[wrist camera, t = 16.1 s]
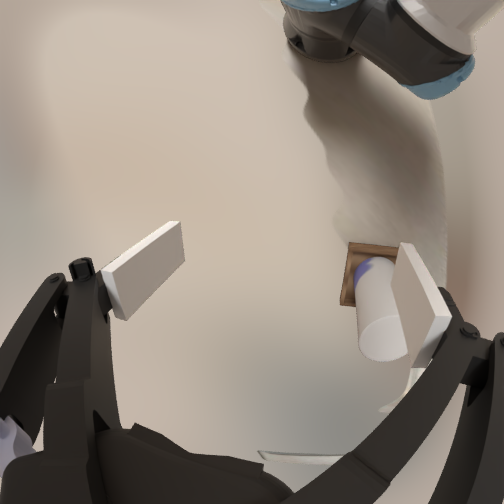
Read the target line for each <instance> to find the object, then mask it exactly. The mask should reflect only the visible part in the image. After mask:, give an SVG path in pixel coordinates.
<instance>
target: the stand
mask: <svg viewBox="0 0 504 504" xmlns="http://www.w3.org/2000/svg"><path fill="white" fill-rule="evenodd" d="M398 250H399V248H396V247H388V246H379V245H370V244H361V243H352V242H349V247H348V255H347V261H346V267H345V273H344V279H343V285H342V290H341V295H340V305H342V306H352V307H356V300H355V290H354V280H353V278H354V273H355V270H356V269H357V267H358V266H359V265H360V264H361V263H362V262H363V261H365V260H366V259H368V258H371V257H384V258H387V259H389V260H390V261H392V262H393V263H394V265H395V264H396V259H397V255H398Z"/></svg>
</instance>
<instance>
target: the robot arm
mask: <svg viewBox="0 0 504 504" xmlns="http://www.w3.org/2000/svg"><path fill="white" fill-rule="evenodd" d="M281 3H282V5H283V7H284V9H285V11H286V13H285V16H284V21H283V27H284V32H285V35H286V37H287V39H288V41H289V42H290V44H291V45H292V46H293V48H294V49H295V50H297V51H298V52H299V53H300V54H302V55H304V56H305V57H307V58H310V59H312V60H316V61H320V62H339V61H343V60H346V59H348V58H350V57H352V56H353V55H355V54H356V53H357V52H358V53H359V54H361V55H362V56H364V57H365V58H367V59H368V60H370V61H371V62H372V63H374V64H375V65H377V66H378V67H379V68H381V69H382V70H383V71H385V72H386V73H387V74H389V75H390V76H391V77H393V78H394V79H395V80H396V81H397V82H398V83H399V84H400V85H402V86H403V87H406V88H407V89H409V90H410V91H411V92H413V93H414V94H415V95H416V96H418V97H420V98H422V99H426V100H433V99H437V98H440V97H442V96H445V95H446V94H448V93H450V92H452V91H453V90H455V89H456V88H457V87H458V86H459V85H460V82H462V81H464V80H466V79H467V78H468V76H469V75H470V74H471V72H472V70H473V69H474V66H475V58H474V56H473V53H474V52H475V51H476V40H475V33H476V32H477V31H478V30H480V29H481V27H483V26H484V25H485V24H486V23H488V22H489V21H490V20H491V19H492V18H493V17H494V16H496V15H497V14H498V13H499V12H500V11H501V10H502V9H504V0H281ZM184 261H185V257H184V249H183V241H182V232H181V223H180V222H178V221H169V222H168V223H166V224H165V225H163V226H162V227H160V228H159V229H157V230H156V231H154V232H153V233H152V234H150V235H149V236H147V237H146V238H144V239H143V240H142V241H140V242H139V243H137V244H136V245H134V246H133V247H131V248H130V249H129V250H127V251H126V252H124V253H123V254H122V255H120V256H118V257H117V258H116V259H114V260H113V261H112V262H110V263H109V264H108V265H106V266H105V267H103V268H102V269H101V270H99V271H98V272H97V273H95V270H94V266H93V263H92V259H91V258H87V257H84V258H80V259H77V260H75V261H73V262H72V263H70V264H69V270H70V273H71V276H72V279H73V281H72V282H66V279H65V276H64V274H63V273H54V274H52V275H50V276H49V277H47V278H46V279H45V281H44V282H43V283H42V285H41V286H40V287H39V289H38V290H37V291H36V293H35V294H34V296H33V297H32V298H31V300H30V301H29V303H28V304H27V306H26V307H25V309H24V310H23V312H22V313H21V315H20V316H19V318H18V319H17V321H16V323H15V324H14V326H13V327H12V329H11V331H10V332H9V334H8V336H7V337H6V339H5V341H4V342H3V344H2V346H1V348H0V477H1V478H2V484H1V492H0V504H373V503H374V502H375V501H376V500H377V499H378V498H379V497H380V496H381V495H382V494H383V493H384V492H385V490H386V489H387V488H388V487H389V486H390V482H391V481H392V480H393V478H394V477H395V476H396V475H397V474H398V473H399V471H400V470H401V469H402V468H403V467H404V466H405V464H406V463H407V462H408V461H409V460H410V458H411V457H412V456H413V454H414V453H415V452H416V451H417V449H418V448H419V446H420V445H421V444H422V443H423V441H424V440H425V438H426V437H427V436H428V434H429V433H430V431H431V430H432V428H433V427H434V425H435V424H436V422H437V421H438V419H439V418H440V416H441V415H442V413H443V411H444V410H445V408H446V406H447V405H448V403H449V401H450V400H451V398H452V396H453V394H454V393H455V391H456V389H457V387H458V385H459V383H462V384H465V385H467V386H466V392H465V397H464V402H463V406H462V410H461V415H460V418H459V422H458V426H457V430H456V433H455V437H454V440H453V443H452V446H451V449H450V452H449V455H448V458H447V461H446V464H445V466H444V469H443V472H442V474H441V476H440V479H439V481H438V483H437V486H436V488H435V491H434V493H433V495H432V497H431V499H430V501H429V503H428V504H502V502H503V499H504V333H503V332H500V333H497V335H495V337H494V339H493V341H491V340H487V339H483V338H481V337H480V333H479V331H478V329H477V328H476V327H475V326H473V325H472V324H470V323H467V322H464V320H463V318H462V316H461V314H460V312H459V310H458V308H457V307H456V304H455V302H454V301H453V299H452V297H451V295H450V294H449V292H447V291H446V290H445V289H444V288H443V287H437V286H436V284H435V282H434V280H433V278H432V277H431V275H430V273H429V271H428V269H427V268H426V266H425V264H424V262H423V261H422V259H421V257H420V256H419V254H418V252H417V251H416V249H415V247H414V246H413V244H410V243H402V242H400V246H399V250H398V255H397V259H396V264H395V268H394V272H393V276H392V280H391V284H390V285H391V289H392V292H393V295H394V299H395V302H396V306H397V309H398V313H399V317H400V321H401V325H402V329H403V333H404V337H405V341H406V346H407V350H408V355H409V359H410V364H411V368H426V370H425V371H424V372H423V374H422V375H421V376H420V378H419V379H418V380H417V382H416V383H415V384H414V385H413V387H412V388H411V389H410V390H409V392H408V393H407V394H406V395H405V397H404V398H403V399H402V400H401V401H400V402H399V404H398V405H397V406H396V407H395V408H394V409H393V410H392V412H391V413H390V414H389V415H388V416H387V417H386V418H385V419H384V420H383V421H382V423H381V424H380V425H379V426H378V427H377V428H376V429H375V430H374V431H373V432H372V433H371V434H370V435H369V436H368V437H367V438H366V439H365V440H364V441H363V442H361V444H359V445H358V446H357V447H356V448H355V449H354V450H353V451H351V452H348V453H347V454H346V455H344V456H343V457H342V458H341V459H339V460H338V461H337V462H336V463H334V464H333V465H332V466H331V467H330V468H328V469H327V470H326V471H325V472H323V473H322V474H321V475H319V476H318V477H317V478H315V479H314V480H313V481H311V482H310V483H309V484H308V485H306V486H305V487H303V488H302V489H300V490H299V491H297V492H296V493H293V492H292V490H291V489H290V488H289V487H288V486H287V485H286V484H285V483H283V482H282V481H281V480H279V479H278V478H276V477H274V476H273V475H271V474H269V473H266V472H264V471H263V467H264V464H261V463H256V462H251V461H247V460H242V459H238V458H234V457H230V456H217V455H204V454H194V453H189V452H188V451H186V450H184V449H183V448H181V447H180V446H178V445H177V444H175V443H174V442H172V441H171V440H169V439H168V438H167V437H165V436H164V435H162V434H160V433H158V432H155V431H153V430H150V429H148V428H146V427H143V426H141V425H139V424H137V423H134V425H133V426H132V428H131V429H122V426H121V424H120V420H119V413H118V407H117V400H116V393H115V384H114V375H113V364H112V351H111V332H110V317H109V314H108V312H109V311H110V310H111V309H113V312H114V315H115V317H116V318H119V319H122V320H125V321H127V320H128V319H129V318H130V317H131V316H132V315H133V314H134V313H135V312H136V311H137V310H138V308H139V307H140V306H141V305H142V304H143V303H144V302H145V301H146V300H147V299H148V298H149V297H150V296H151V295H152V294H153V293H154V292H155V291H156V290H157V289H158V288H159V287H160V286H161V285H162V284H163V283H164V282H165V280H167V279H168V277H170V276H171V275H172V273H173V272H174V271H175V270H176V269H177V268H178V267H179V266H180V265H181V264H182V263H183V262H184ZM54 310H55V312H56V314H57V315H56V317H55V314H54ZM431 359H433V360H432V361H431ZM430 361H431V363H430V364H429V362H430ZM428 364H429V366H428ZM427 366H428V367H427ZM55 378H56V383H54V381H55ZM43 417H44V427H43V428H44V429H43V430H44V431H43V444H44V450H43V451H39V452H36V451H35V450H34V449H33V448H32V446H33V445H34V443H35V441H36V438H37V436H38V433H39V431H40V427H41V424H42V421H43Z"/></svg>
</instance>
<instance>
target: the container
mask: <svg viewBox="0 0 504 504" xmlns="http://www.w3.org/2000/svg"><path fill="white" fill-rule="evenodd" d="M394 268H395V265H394V263H393V262H392V261H390V260H389V259H387V258H384V257H371V258H368V259H366V260H365V261H363V262H362V263H361V264H360V265H359V266H358V267H357V269H356V270H355V273H354V278H353V280H354V290H355V300H356V312H357V324H358V342H359V349H360V351H361V353H362V354H363V355H364V356H365V357H367V358H368V359H370V360H373V361H378V362H386V361H392V360H395V359H398V358H400V357H402V356H404V355H405V354H407V353H408V350H407V346H406V341H405V337H404V333H403V329H402V325H401V321H400V317H399V313H398V309H397V306H396V302H395V299H394V295H393V292H392V289H391V285H390V284H391V280H392V276H393V272H394Z"/></svg>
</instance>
